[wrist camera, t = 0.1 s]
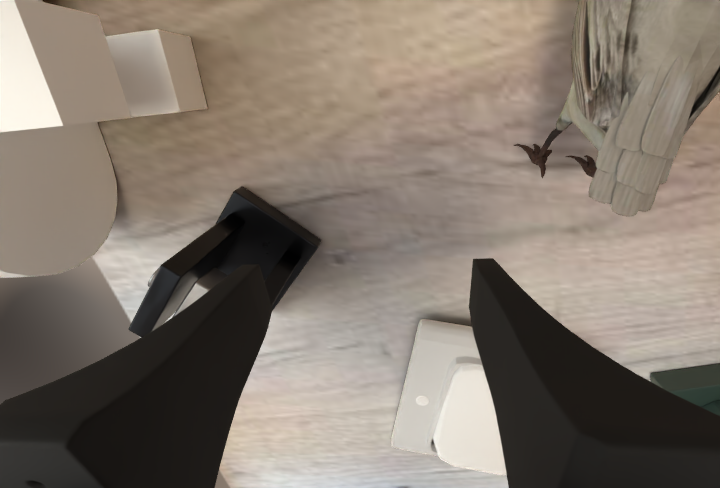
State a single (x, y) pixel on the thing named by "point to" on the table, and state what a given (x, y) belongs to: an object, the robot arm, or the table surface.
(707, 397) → the button box
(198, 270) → the bracket
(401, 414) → the light switch
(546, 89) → the table surface
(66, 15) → the white piece
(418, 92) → the table surface
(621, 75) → the decorative bird
